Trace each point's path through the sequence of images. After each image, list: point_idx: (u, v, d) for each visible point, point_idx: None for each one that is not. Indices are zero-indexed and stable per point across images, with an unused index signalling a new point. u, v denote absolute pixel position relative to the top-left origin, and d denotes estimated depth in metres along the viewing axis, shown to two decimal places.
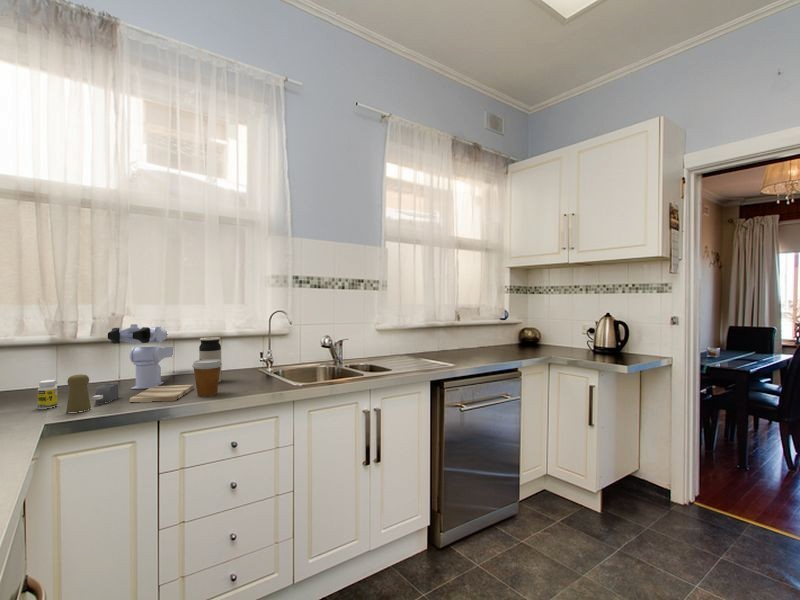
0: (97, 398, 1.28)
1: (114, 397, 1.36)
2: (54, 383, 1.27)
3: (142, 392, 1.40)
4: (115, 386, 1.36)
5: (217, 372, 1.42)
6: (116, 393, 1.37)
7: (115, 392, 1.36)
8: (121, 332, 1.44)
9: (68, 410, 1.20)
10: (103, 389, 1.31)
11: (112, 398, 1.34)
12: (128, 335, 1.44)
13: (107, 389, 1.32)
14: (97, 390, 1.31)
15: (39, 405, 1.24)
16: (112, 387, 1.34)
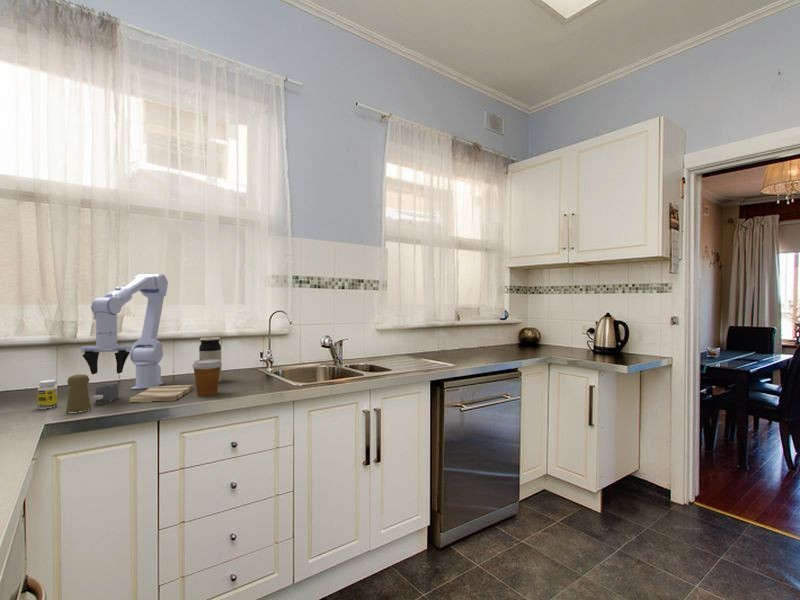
0: (97, 398, 1.28)
1: (114, 397, 1.36)
2: (54, 383, 1.27)
3: (142, 392, 1.40)
4: (115, 386, 1.36)
5: (217, 372, 1.42)
6: (116, 393, 1.37)
7: (115, 392, 1.36)
8: (92, 349, 1.33)
9: (68, 410, 1.20)
10: (103, 389, 1.31)
11: (112, 398, 1.34)
12: (103, 351, 1.35)
13: (107, 389, 1.32)
14: (97, 390, 1.31)
15: (39, 405, 1.24)
16: (112, 387, 1.34)
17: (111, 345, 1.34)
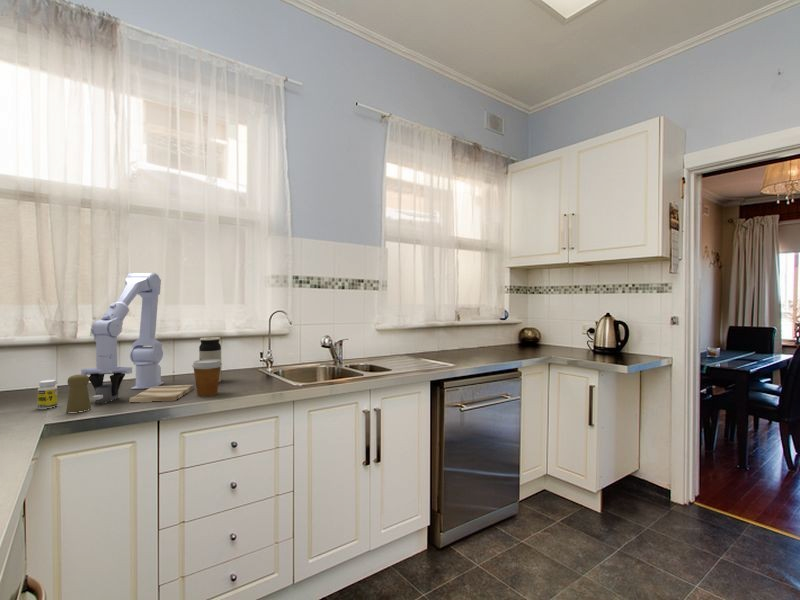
0: (97, 398, 1.28)
1: (114, 397, 1.36)
2: (54, 383, 1.27)
3: (142, 392, 1.40)
4: None
5: (217, 372, 1.42)
6: None
7: None
8: (92, 371, 1.33)
9: (68, 410, 1.20)
10: (103, 389, 1.31)
11: (112, 398, 1.34)
12: (103, 373, 1.35)
13: (107, 389, 1.32)
14: (97, 390, 1.31)
15: (39, 405, 1.24)
16: None
17: (111, 368, 1.34)
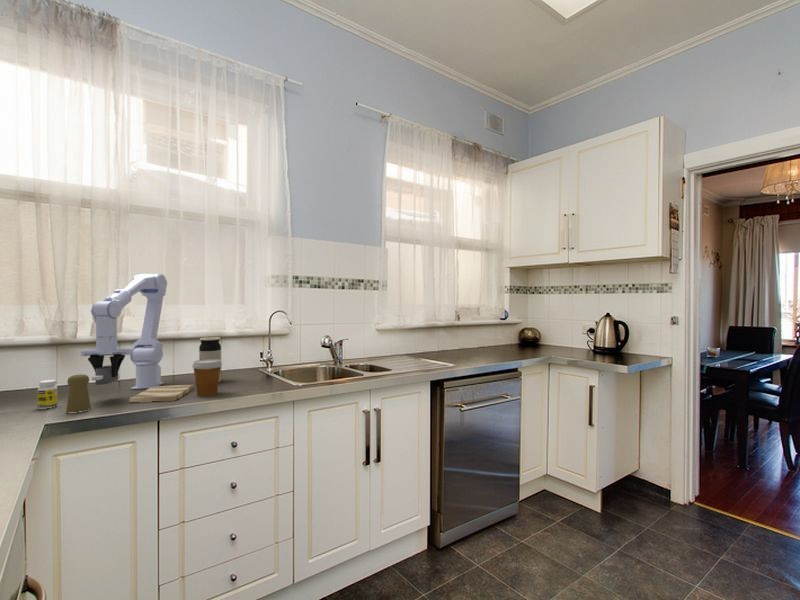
0: (97, 378, 1.28)
1: (114, 378, 1.36)
2: (54, 383, 1.27)
3: (142, 392, 1.40)
4: None
5: (217, 372, 1.42)
6: None
7: None
8: (92, 352, 1.33)
9: (68, 410, 1.20)
10: (103, 370, 1.31)
11: (112, 379, 1.34)
12: None
13: (107, 370, 1.32)
14: (97, 371, 1.31)
15: (39, 405, 1.24)
16: None
17: (111, 349, 1.34)
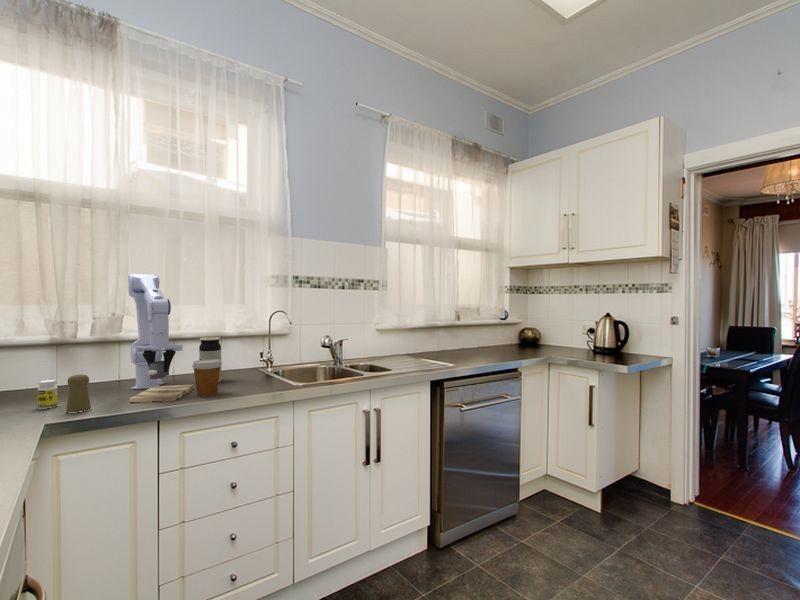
0: (152, 373, 1.34)
1: (166, 373, 1.42)
2: (54, 383, 1.27)
3: (142, 392, 1.40)
4: None
5: (217, 372, 1.42)
6: None
7: None
8: (146, 348, 1.39)
9: (68, 410, 1.20)
10: (157, 365, 1.37)
11: (164, 374, 1.41)
12: (156, 351, 1.41)
13: (160, 365, 1.38)
14: (151, 366, 1.37)
15: (39, 405, 1.24)
16: None
17: (164, 345, 1.40)
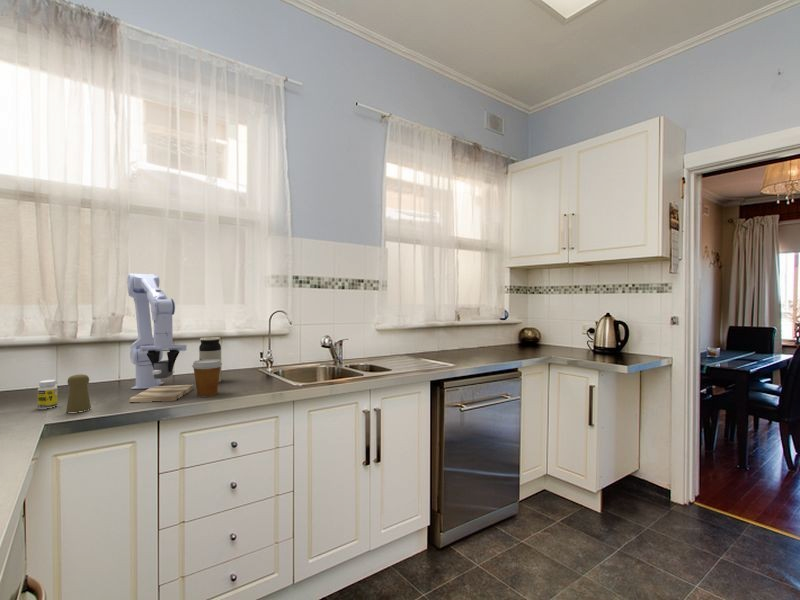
0: (157, 373, 1.35)
1: (170, 373, 1.42)
2: (54, 383, 1.27)
3: (142, 392, 1.40)
4: None
5: (217, 372, 1.42)
6: None
7: None
8: (150, 348, 1.40)
9: (68, 410, 1.20)
10: (161, 364, 1.38)
11: (168, 374, 1.41)
12: (160, 350, 1.41)
13: (164, 365, 1.39)
14: (156, 365, 1.37)
15: (39, 405, 1.24)
16: None
17: (168, 345, 1.40)
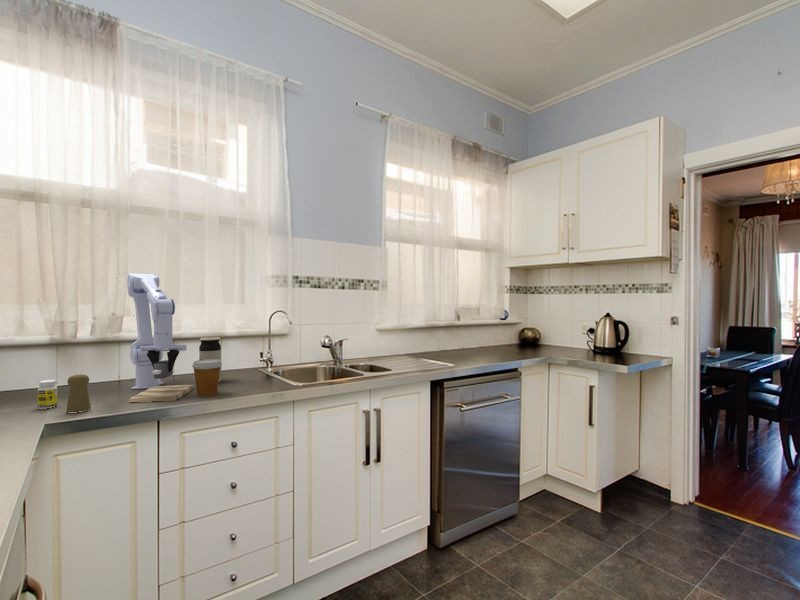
0: (157, 373, 1.35)
1: (170, 373, 1.42)
2: (54, 383, 1.27)
3: (142, 392, 1.40)
4: None
5: (217, 372, 1.42)
6: None
7: None
8: (150, 348, 1.40)
9: (68, 410, 1.20)
10: (161, 364, 1.38)
11: (168, 374, 1.41)
12: (160, 350, 1.41)
13: (164, 365, 1.39)
14: (156, 365, 1.37)
15: (39, 405, 1.24)
16: None
17: (168, 345, 1.40)
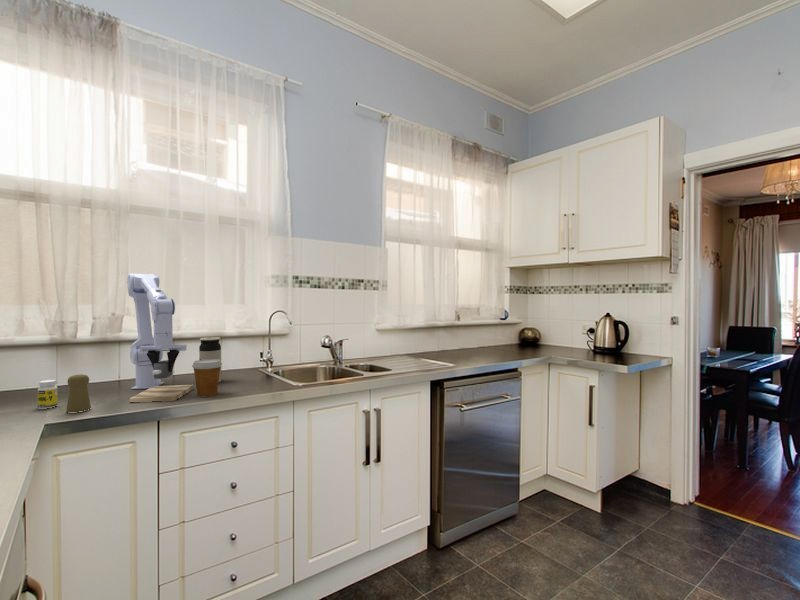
0: (157, 373, 1.35)
1: (170, 373, 1.42)
2: (54, 383, 1.27)
3: (142, 392, 1.40)
4: None
5: (217, 372, 1.42)
6: None
7: None
8: (150, 348, 1.40)
9: (68, 410, 1.20)
10: (161, 364, 1.38)
11: (168, 374, 1.41)
12: (160, 350, 1.41)
13: (164, 365, 1.39)
14: (156, 365, 1.37)
15: (39, 405, 1.24)
16: None
17: (168, 345, 1.40)
